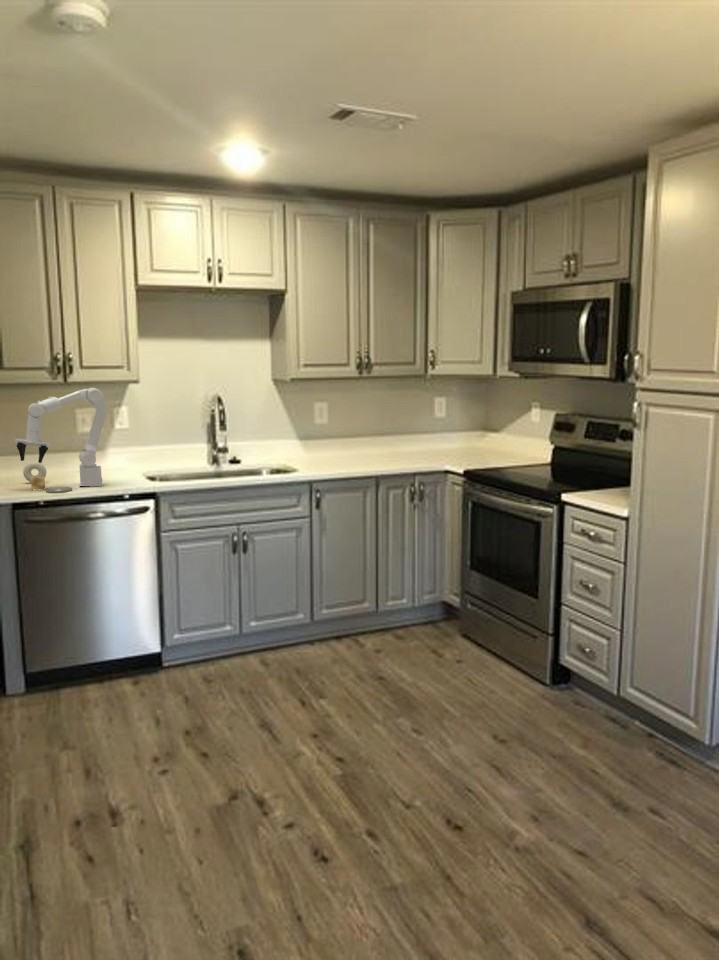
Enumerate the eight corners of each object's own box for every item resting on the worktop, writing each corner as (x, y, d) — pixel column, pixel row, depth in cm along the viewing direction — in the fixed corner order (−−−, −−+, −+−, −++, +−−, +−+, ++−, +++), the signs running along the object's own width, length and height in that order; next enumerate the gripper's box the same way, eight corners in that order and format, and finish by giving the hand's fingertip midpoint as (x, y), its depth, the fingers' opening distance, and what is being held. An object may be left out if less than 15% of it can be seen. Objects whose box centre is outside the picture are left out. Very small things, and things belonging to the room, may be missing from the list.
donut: (47, 481, 369) (46, 460, 368) (46, 483, 366) (45, 461, 365) (24, 482, 366) (22, 461, 365) (23, 484, 363) (22, 462, 362)
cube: (45, 488, 353) (44, 477, 352) (43, 490, 348) (43, 478, 348) (32, 488, 352) (32, 477, 351) (31, 490, 347) (30, 479, 346)
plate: (73, 488, 353) (72, 486, 352) (71, 492, 342) (71, 490, 342) (46, 489, 350) (46, 487, 349) (44, 493, 339) (43, 491, 339)
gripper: (13, 429, 342) (10, 460, 343) (47, 433, 343) (44, 464, 344) (19, 428, 349) (17, 459, 350) (53, 432, 350) (50, 463, 351)
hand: (31, 461), depth 348 cm, fingers open, 7 cm apart
